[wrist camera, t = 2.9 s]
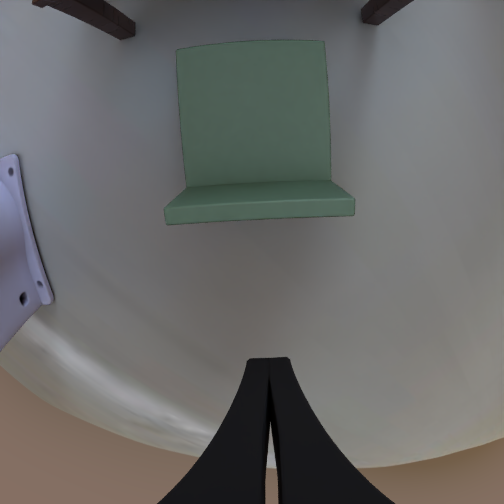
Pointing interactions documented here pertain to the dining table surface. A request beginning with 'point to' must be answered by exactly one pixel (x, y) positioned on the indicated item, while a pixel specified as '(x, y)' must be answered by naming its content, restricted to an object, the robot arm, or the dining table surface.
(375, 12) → the desk
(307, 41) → the chair
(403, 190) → the dining table surface
